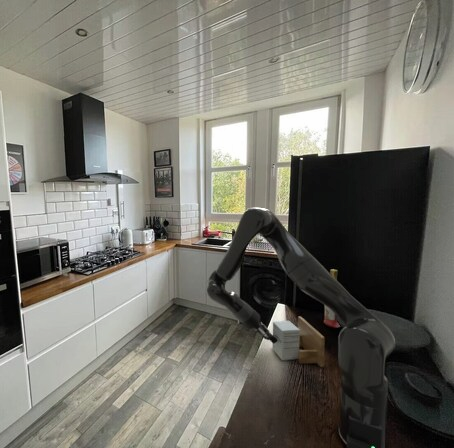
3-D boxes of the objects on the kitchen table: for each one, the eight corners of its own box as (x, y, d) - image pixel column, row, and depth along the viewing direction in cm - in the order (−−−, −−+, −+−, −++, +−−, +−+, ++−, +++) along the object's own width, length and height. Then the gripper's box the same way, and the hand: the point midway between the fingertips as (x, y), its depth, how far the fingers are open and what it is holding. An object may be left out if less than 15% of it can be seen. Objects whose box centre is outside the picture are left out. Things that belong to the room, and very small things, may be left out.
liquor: (319, 323, 123) (320, 268, 119) (331, 321, 124) (333, 267, 121) (332, 330, 116) (334, 273, 112) (345, 328, 117) (347, 271, 113)
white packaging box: (271, 349, 105) (272, 321, 103) (288, 347, 105) (289, 320, 103) (281, 360, 97) (282, 330, 96) (299, 359, 98) (300, 329, 96)
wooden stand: (303, 367, 93) (303, 338, 92) (282, 342, 109) (282, 316, 107) (323, 367, 93) (324, 337, 91) (300, 342, 109) (300, 316, 107)
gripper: (258, 315, 92) (290, 344, 94) (246, 300, 106) (274, 326, 107) (243, 329, 93) (275, 358, 94) (233, 312, 106) (261, 338, 107)
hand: (275, 341), depth 101 cm, fingers closed
